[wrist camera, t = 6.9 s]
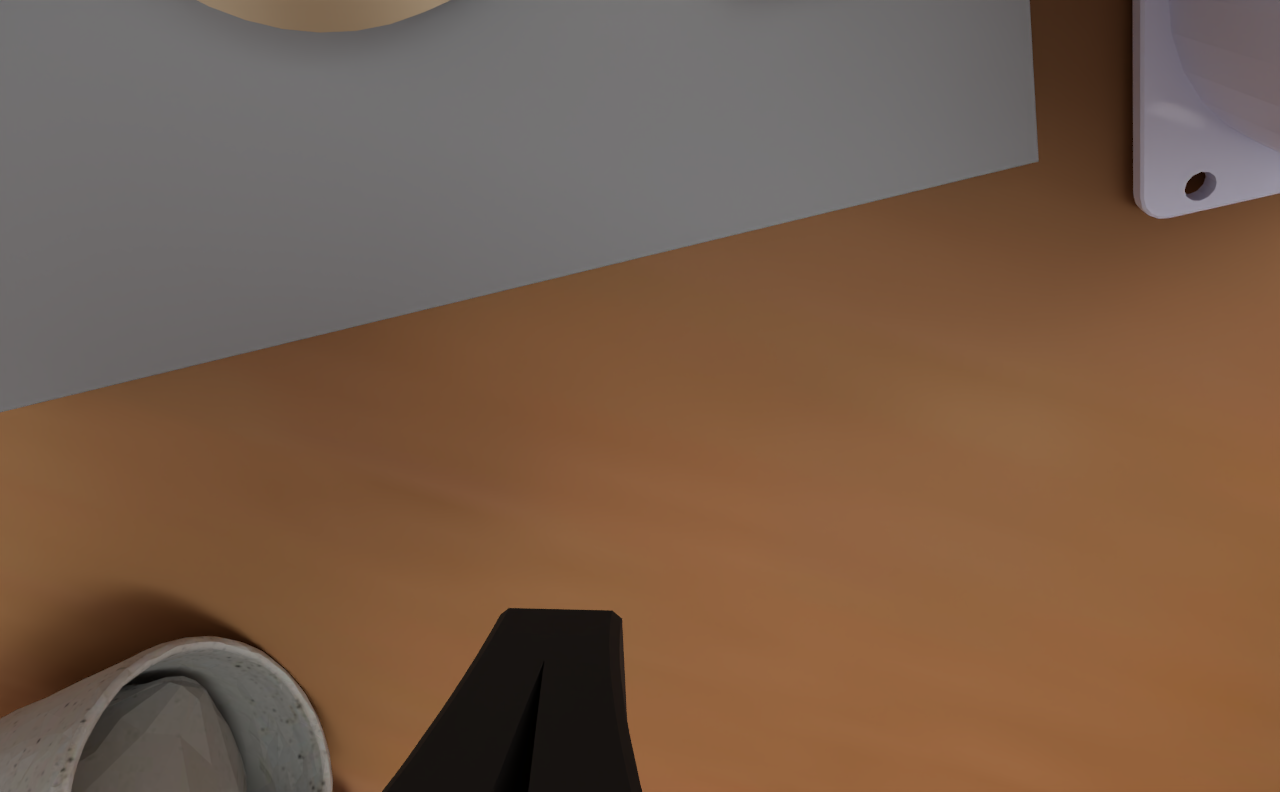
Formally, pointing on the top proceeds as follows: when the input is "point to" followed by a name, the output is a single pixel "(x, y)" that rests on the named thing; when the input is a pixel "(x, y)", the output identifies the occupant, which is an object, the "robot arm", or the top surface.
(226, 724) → the ceramic mug
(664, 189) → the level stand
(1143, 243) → the top surface
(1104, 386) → the top surface
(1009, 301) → the top surface
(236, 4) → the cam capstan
